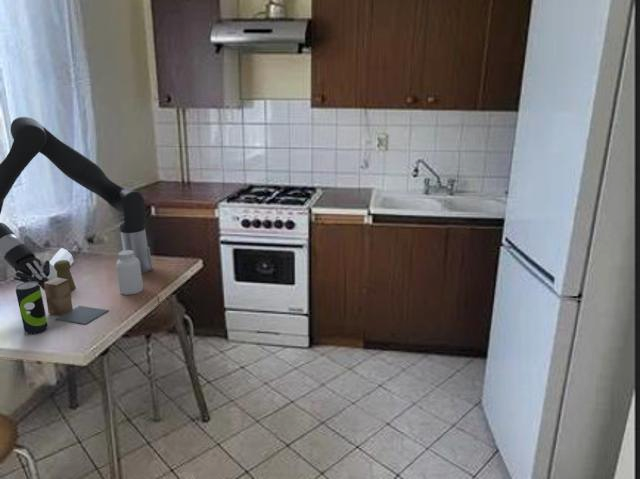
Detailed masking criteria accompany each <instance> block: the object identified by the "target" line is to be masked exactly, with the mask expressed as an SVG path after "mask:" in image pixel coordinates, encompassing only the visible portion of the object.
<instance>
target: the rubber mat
mask: <svg viewBox="0 0 640 479" xmlns="http://www.w3.org/2000/svg"><path fill="white" fill-rule="evenodd" d="M108 312H109V310H108V309H103V308H98V307H97V308H96V307H91V306H83V305H78V306H77V307H73V309H72V310H71V311H69V312H67V313H65V314H63V315H61V316H57V317H56V318H55V320H56V321H60V322H65V323H74V324H80V325H83V326H84V325H88V324H89V323H91V322H93V321H94V320H96V319H98V318H99V317H101V316H103V315H104V314H106V313H108Z"/></svg>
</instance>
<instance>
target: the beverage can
mask: <svg viewBox="0 0 640 479" xmlns="http://www.w3.org/2000/svg"><path fill="white" fill-rule="evenodd" d="M41 289H42V288H41V287H40V285H39V284H38V282H35V281H31V282H22V283H20V284H17V285H16V286H15V293H16V299H17V303H18V307H19V312H20V316H21V321H22V326H23V329H24V332H25V333H26V334H28V335H38V334H40V333H43V332H45V331H46V330H47V329H48V326H49V324H48V320H47V314H46V308H45V304H44V300H43V295H42V291H41Z"/></svg>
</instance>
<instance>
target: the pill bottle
mask: <svg viewBox="0 0 640 479" xmlns="http://www.w3.org/2000/svg"><path fill="white" fill-rule="evenodd" d="M117 255H118V260H117V261H116V262H115V267H116V274H117V281H118V286H119V288H118V289H119V293H120V294H121V295H125V296H126V295H127V296H129V295H130V296H131V295H136V294H139V293H141V292H142V291H143V290H144V286H143V284H144V283H143V276H142V274H141V268H140V261H139V259H138V258H136V257H135V254H134V251H133V250H125V251H123V250H121V251H119V252H118V254H117Z"/></svg>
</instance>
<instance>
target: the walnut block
mask: <svg viewBox="0 0 640 479" xmlns="http://www.w3.org/2000/svg"><path fill="white" fill-rule="evenodd" d="M44 288H45V290H44V294H45V298H46V299H45V300H46V305H47V311H48V314H49V315H54V316H56V317H59V316H61V315H63V314H65V313H67V312H69V311H71V310H72V309H74V307H73V302H72V296H71V291H70V287H69V280H68V279H63V278H58V277H56V278H53V279H51V280H49V281H47V282H44Z"/></svg>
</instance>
